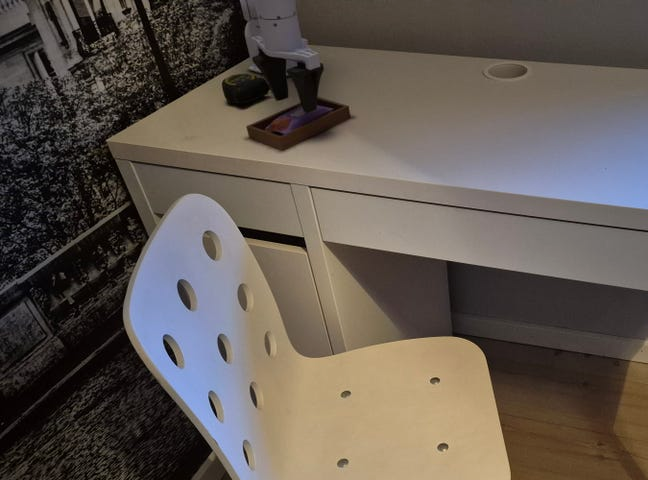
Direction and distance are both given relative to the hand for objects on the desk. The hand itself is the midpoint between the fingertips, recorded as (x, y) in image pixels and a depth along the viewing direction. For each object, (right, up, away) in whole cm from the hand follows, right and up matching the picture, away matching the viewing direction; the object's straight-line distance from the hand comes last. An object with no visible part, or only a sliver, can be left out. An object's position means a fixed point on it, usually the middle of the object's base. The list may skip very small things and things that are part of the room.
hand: (296, 104), depth 109 cm
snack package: (0, -3, +3) cm, 4 cm away
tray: (0, -3, +3) cm, 4 cm away
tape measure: (-12, +5, +12) cm, 18 cm away
